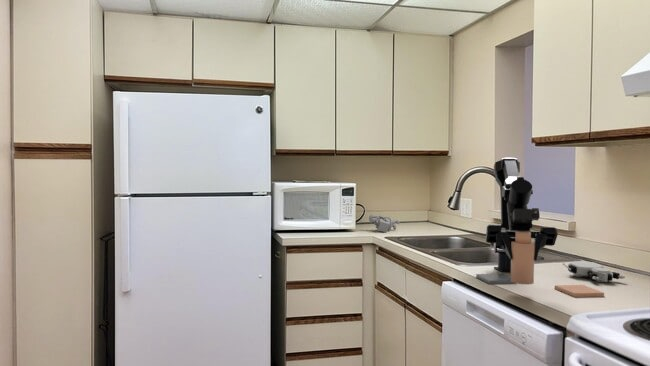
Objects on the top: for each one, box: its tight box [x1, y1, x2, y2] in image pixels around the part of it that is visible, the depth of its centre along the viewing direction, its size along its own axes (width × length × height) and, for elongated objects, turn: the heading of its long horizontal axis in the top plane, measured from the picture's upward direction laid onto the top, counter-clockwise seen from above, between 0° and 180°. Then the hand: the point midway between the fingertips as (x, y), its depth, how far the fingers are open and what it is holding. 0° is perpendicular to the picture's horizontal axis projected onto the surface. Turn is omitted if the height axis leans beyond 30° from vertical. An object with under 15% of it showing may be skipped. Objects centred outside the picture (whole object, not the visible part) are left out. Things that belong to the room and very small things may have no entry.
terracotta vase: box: [510, 231, 535, 285], centre depth 131 cm, size 6×6×14 cm
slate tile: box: [476, 273, 515, 285], centre depth 148 cm, size 9×9×1 cm
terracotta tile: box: [554, 284, 605, 298], centre depth 134 cm, size 9×9×1 cm
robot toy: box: [562, 261, 626, 283], centre depth 152 cm, size 12×4×15 cm
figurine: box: [368, 214, 401, 234], centre depth 264 cm, size 11×13×18 cm
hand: (523, 259), depth 129 cm, fingers closed on terracotta vase, 6 cm apart
